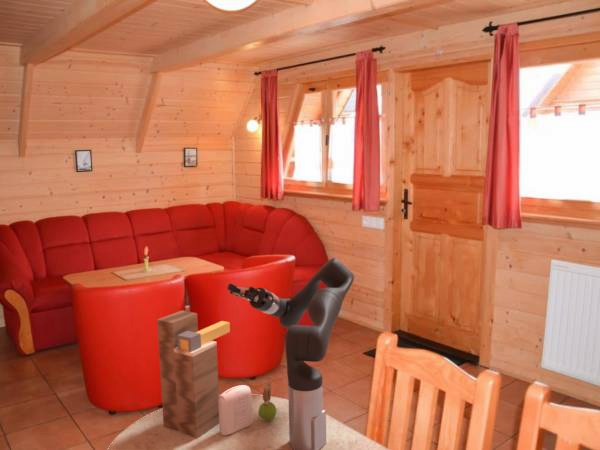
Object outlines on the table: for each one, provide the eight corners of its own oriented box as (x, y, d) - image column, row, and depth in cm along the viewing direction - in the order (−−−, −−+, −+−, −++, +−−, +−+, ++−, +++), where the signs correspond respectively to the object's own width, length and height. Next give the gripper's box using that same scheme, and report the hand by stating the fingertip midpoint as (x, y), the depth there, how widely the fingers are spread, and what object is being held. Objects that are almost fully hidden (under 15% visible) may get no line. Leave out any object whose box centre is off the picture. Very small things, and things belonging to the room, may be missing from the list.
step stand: (220, 422, 160) (215, 316, 156) (196, 438, 152) (191, 326, 147) (187, 412, 167) (182, 310, 163) (163, 426, 159) (157, 319, 154)
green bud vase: (279, 414, 165) (278, 376, 163) (274, 424, 159) (273, 386, 157) (261, 413, 166) (260, 375, 164) (256, 423, 160) (255, 385, 158)
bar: (232, 332, 165) (232, 319, 164) (191, 351, 150) (190, 338, 149) (219, 329, 167) (219, 317, 167) (178, 348, 152) (177, 334, 152)
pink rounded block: (245, 419, 162) (244, 380, 161) (254, 424, 159) (253, 384, 158) (217, 432, 155) (215, 391, 154) (226, 437, 152) (224, 396, 151)
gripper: (251, 288, 195) (225, 274, 182) (284, 293, 188) (259, 279, 175) (245, 308, 193) (219, 296, 180) (278, 314, 186) (253, 301, 173)
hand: (239, 288), depth 178 cm, fingers open, 8 cm apart
